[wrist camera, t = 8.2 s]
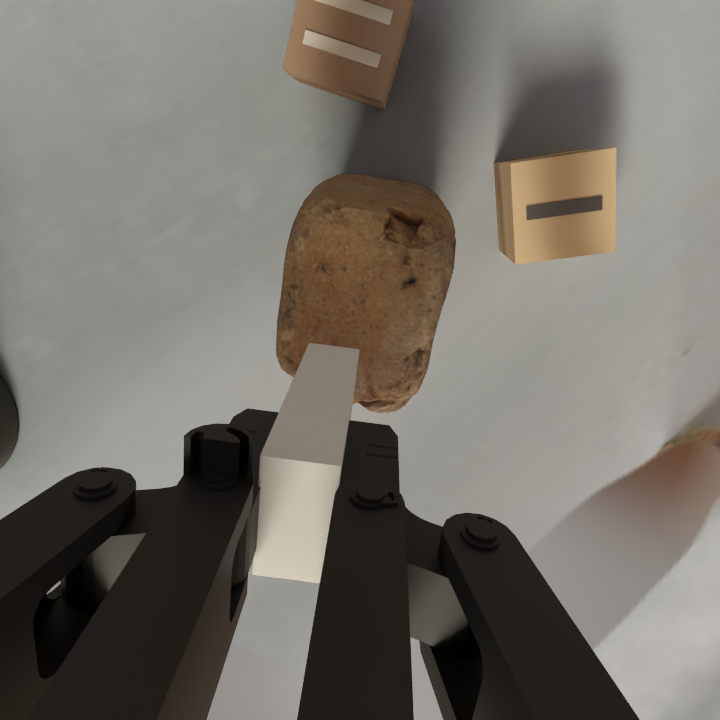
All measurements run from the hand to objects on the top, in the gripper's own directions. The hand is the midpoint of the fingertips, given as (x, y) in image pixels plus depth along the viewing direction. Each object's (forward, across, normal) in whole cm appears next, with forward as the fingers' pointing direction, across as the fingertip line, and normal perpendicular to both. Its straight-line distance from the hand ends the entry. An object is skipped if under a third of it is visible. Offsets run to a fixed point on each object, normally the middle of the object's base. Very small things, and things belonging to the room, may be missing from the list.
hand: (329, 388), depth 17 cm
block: (+26, +1, 0) cm, 26 cm away
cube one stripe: (+26, +12, +5) cm, 29 cm away
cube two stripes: (+26, -2, +13) cm, 29 cm away
